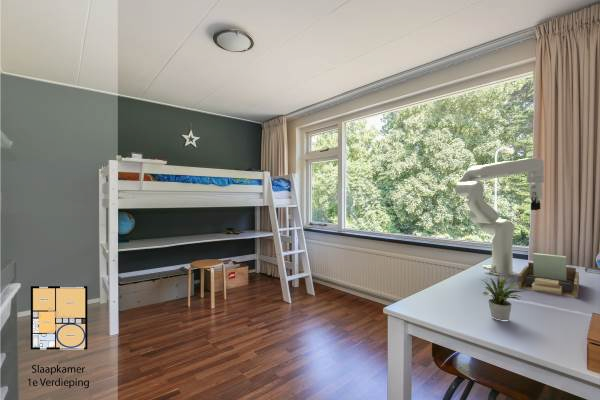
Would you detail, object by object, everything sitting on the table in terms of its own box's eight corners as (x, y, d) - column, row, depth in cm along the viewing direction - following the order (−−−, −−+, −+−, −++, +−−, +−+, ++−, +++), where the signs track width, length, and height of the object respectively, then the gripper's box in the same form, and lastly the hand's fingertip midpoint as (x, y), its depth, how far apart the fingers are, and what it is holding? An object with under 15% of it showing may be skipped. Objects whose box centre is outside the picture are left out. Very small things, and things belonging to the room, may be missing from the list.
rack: (577, 300, 118) (577, 279, 118) (518, 290, 132) (517, 271, 132) (579, 286, 135) (578, 268, 135) (526, 278, 150) (526, 261, 149)
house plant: (491, 328, 96) (490, 281, 95) (467, 312, 109) (466, 271, 109) (532, 327, 96) (531, 280, 95) (503, 311, 110) (502, 270, 109)
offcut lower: (561, 295, 122) (561, 289, 122) (531, 290, 129) (531, 284, 129) (562, 291, 126) (562, 286, 126) (533, 287, 133) (533, 281, 133)
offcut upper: (558, 288, 123) (558, 283, 123) (534, 284, 129) (534, 279, 129) (559, 286, 126) (558, 280, 126) (536, 282, 132) (536, 277, 132)
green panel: (566, 286, 133) (565, 257, 133) (533, 281, 142) (533, 254, 141) (566, 284, 135) (566, 256, 135) (534, 279, 144) (534, 253, 144)
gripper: (541, 179, 153) (542, 210, 153) (545, 180, 165) (545, 209, 165) (524, 180, 158) (525, 210, 158) (529, 181, 170) (529, 208, 170)
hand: (535, 209), depth 162 cm, fingers open, 9 cm apart
